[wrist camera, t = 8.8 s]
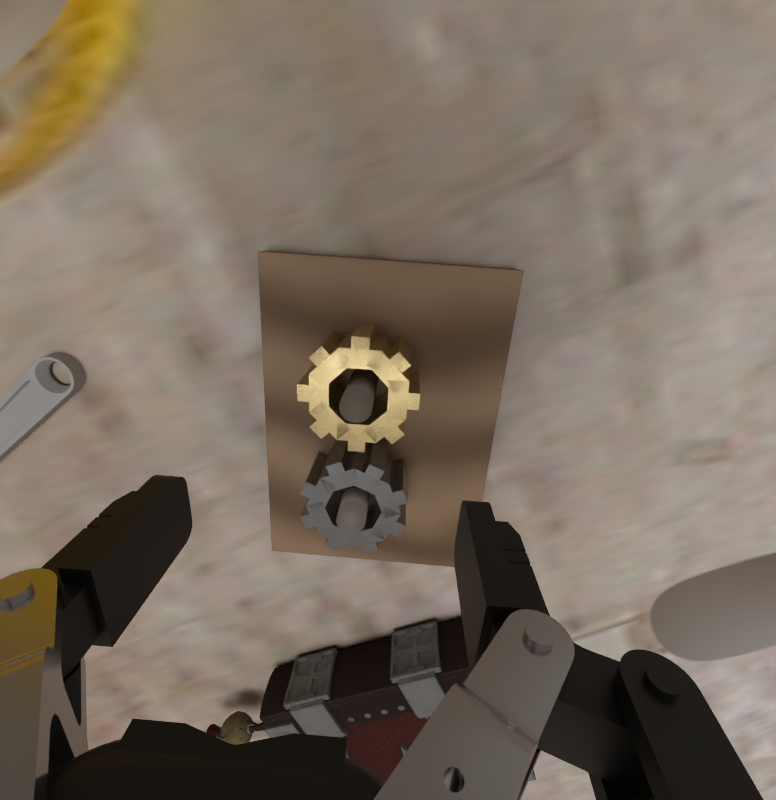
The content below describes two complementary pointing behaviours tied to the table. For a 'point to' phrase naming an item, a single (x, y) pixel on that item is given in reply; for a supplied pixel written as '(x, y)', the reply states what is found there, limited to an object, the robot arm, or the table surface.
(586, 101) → the table surface
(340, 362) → the brass gear
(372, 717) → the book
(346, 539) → the steel gear
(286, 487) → the gear board
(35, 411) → the adjustable wrench
